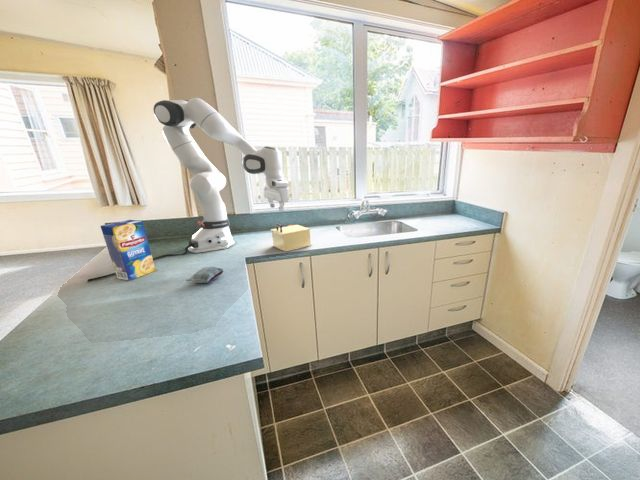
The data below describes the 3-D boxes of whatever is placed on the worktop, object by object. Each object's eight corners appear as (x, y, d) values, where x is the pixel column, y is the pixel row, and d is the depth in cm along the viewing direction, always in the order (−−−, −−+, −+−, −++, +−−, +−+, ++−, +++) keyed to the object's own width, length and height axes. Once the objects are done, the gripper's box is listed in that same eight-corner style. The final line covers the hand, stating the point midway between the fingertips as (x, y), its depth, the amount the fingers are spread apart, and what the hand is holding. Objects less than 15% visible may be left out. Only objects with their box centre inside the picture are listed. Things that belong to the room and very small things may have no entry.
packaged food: (187, 286, 115) (184, 274, 113) (205, 273, 126) (203, 263, 124) (209, 287, 115) (207, 275, 113) (225, 274, 126) (223, 264, 124)
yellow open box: (284, 251, 154) (283, 235, 151) (273, 246, 163) (271, 230, 159) (310, 245, 165) (309, 230, 162) (298, 240, 173) (297, 225, 170)
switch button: (290, 229, 182) (289, 226, 182) (287, 228, 185) (286, 225, 184) (295, 228, 185) (295, 225, 184) (292, 227, 187) (292, 224, 187)
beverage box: (156, 270, 128) (142, 221, 121) (129, 280, 119) (112, 227, 111) (144, 268, 130) (130, 219, 123) (116, 278, 120) (100, 225, 113)
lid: (281, 235, 151) (280, 227, 149) (270, 230, 159) (269, 222, 157) (309, 230, 162) (309, 222, 160) (297, 225, 170) (297, 218, 168)
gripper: (259, 179, 152) (261, 206, 156) (278, 184, 138) (280, 213, 143) (270, 179, 156) (273, 205, 161) (290, 183, 143) (292, 211, 148)
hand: (276, 208), depth 152 cm, fingers open, 8 cm apart
